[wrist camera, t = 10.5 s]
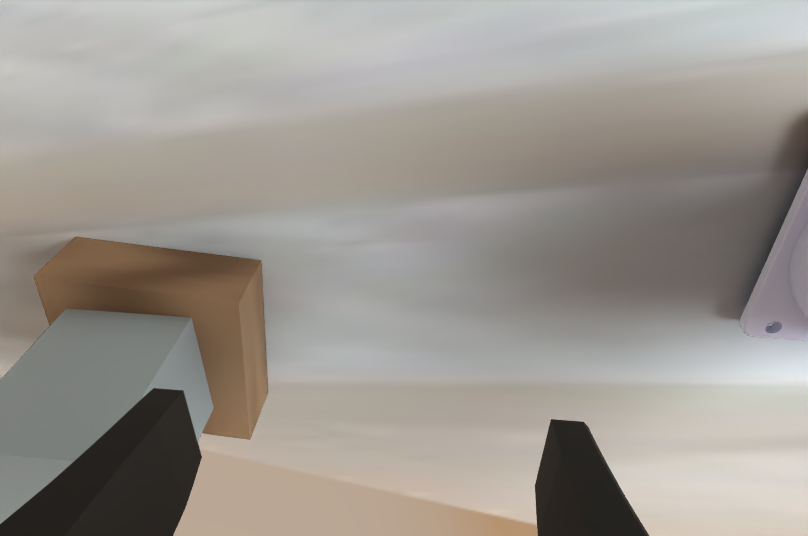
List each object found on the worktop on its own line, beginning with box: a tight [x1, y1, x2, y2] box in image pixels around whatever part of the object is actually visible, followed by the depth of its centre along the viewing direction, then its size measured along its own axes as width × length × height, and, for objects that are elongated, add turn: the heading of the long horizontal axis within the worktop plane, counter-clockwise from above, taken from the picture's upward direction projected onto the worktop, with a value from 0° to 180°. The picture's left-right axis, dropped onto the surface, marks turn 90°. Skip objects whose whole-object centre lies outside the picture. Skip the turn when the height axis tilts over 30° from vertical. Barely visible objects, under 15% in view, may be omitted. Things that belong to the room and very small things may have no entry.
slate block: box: [0, 309, 214, 524], centre depth 19 cm, size 4×4×6 cm
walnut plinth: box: [34, 237, 268, 440], centre depth 23 cm, size 7×7×3 cm
